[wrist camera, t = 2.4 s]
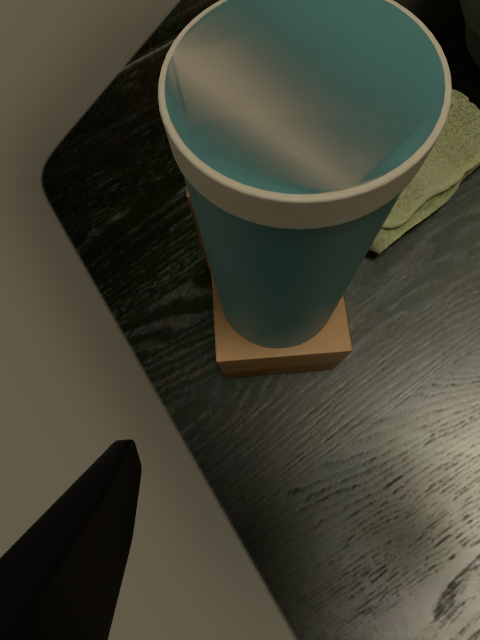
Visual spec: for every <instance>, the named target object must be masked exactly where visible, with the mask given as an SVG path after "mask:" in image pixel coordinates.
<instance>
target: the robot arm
mask: <svg viewBox="0 0 480 640" xmlns="http://www.w3.org/2000/svg"><path fill="white" fill-rule="evenodd" d="M140 479H141V462H140V459H139V455H138V452H137V449H136V445H135V442H134V441H133V440H118V441H115V442H114V443H113V444H112V445H111V446H110V447H109V448H108V449H107V450H106V451H105V452H104V453H103V454H102V455H101V456H100V457H99V458H98V459H97V460H96V461H95V462H94V463H93V464H92V465H91V466H90V467H89V468H88V469H87V470H86V471H85V472H84V474H82V475H81V476H80V477H79V478H78V479H77V480H76V481H75V482H74V483H73V484H72V486H71V487H70V488H69V489H68V490H67V491H66V492H65V493H64V494H63V495H62V496H61V497H60V498H59V499H58V500H57V501H56V502H55V503H54V504H53V505H52V506H51V507H50V508H49V509H48V510H47V511H46V512H45V513H44V514H43V515H42V516H41V517H40V518H39V519H38V520H37V521H36V522H35V523H34V524H33V525H32V526H31V527H30V528H29V529H28V530H27V531H26V532H25V534H23V535H22V537H21V538H20V539H19V540H18V541H17V542H16V543H15V544H14V545H13V546H12V547H11V548H10V549H9V550H8V551H7V552H6V553H5V554H4V555H3V556H2V557H1V558H0V640H108V636H109V632H110V628H111V624H112V620H113V616H114V612H115V608H116V603H117V599H118V596H119V591H120V587H121V583H122V579H123V575H124V571H125V567H126V563H127V558H128V555H129V550H130V546H131V542H132V537H133V530H134V524H135V516H136V509H137V502H138V494H139V487H140Z"/></svg>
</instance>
